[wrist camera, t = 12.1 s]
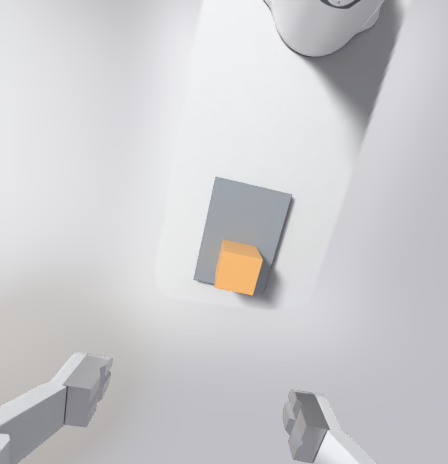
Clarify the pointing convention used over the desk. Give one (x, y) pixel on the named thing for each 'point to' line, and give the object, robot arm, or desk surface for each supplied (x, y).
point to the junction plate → (241, 225)
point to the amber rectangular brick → (238, 267)
